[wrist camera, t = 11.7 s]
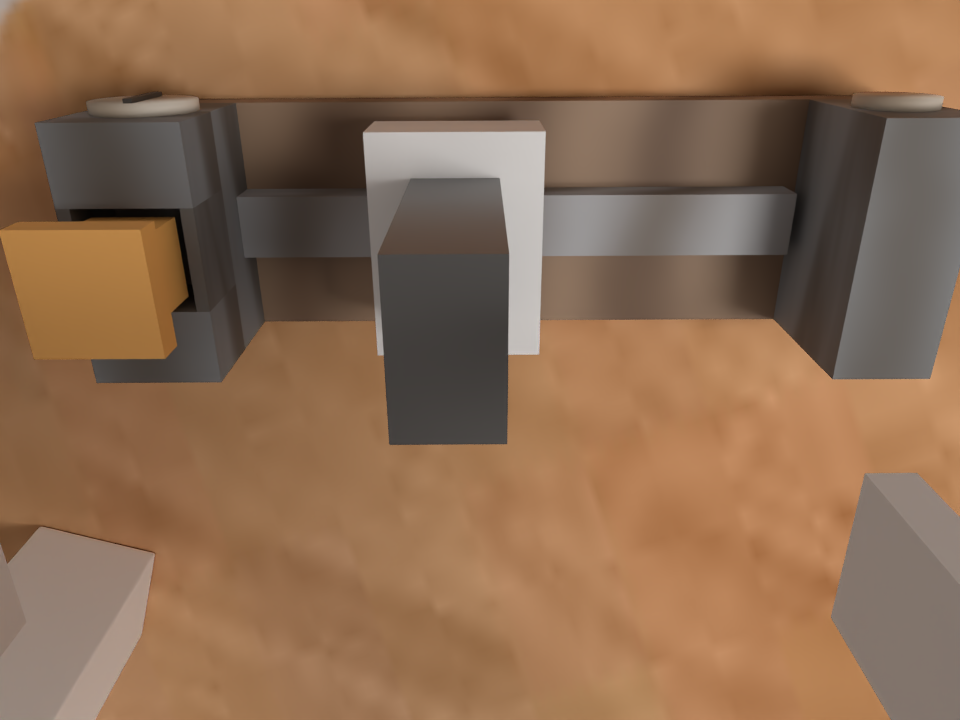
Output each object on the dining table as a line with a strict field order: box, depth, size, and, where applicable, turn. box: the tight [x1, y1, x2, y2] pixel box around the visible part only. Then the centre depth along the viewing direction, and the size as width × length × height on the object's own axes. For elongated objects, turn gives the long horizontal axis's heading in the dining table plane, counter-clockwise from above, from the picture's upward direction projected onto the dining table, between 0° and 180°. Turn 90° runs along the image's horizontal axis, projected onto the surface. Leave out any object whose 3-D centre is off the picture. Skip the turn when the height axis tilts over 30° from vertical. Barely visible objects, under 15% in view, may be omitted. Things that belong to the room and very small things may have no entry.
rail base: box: [35, 92, 960, 383], centre depth 29 cm, size 30×10×8 cm, turn 90°
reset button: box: [0, 217, 188, 360], centre depth 24 cm, size 4×4×4 cm
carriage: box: [363, 120, 546, 445], centre depth 24 cm, size 6×8×13 cm
